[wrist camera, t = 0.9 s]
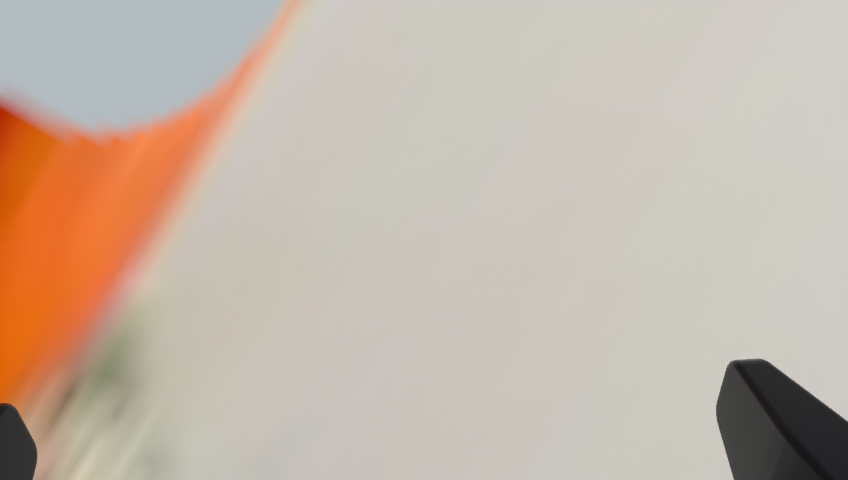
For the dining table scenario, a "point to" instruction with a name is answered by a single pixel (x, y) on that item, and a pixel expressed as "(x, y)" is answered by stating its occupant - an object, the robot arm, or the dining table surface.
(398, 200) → the dining table surface
